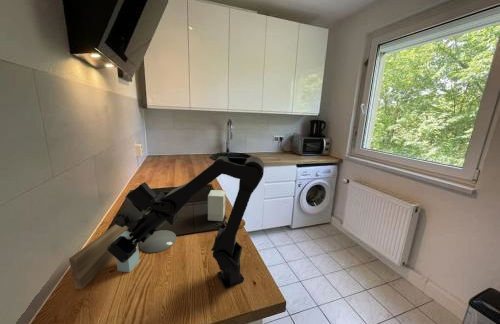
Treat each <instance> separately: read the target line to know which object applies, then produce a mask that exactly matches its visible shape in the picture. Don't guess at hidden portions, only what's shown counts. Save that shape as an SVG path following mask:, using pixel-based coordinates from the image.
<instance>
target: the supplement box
mask: <svg viewBox="0 0 500 324" xmlns="http://www.w3.org/2000/svg"><path fill="white" fill-rule="evenodd" d="M225 214H226V190H220V189H219V190H218V189H217V190H215V189H211V190H210V191H209V193H208V195H207V220H208V221H212V222H213V221H215V222H223V221H224V217H225Z"/></svg>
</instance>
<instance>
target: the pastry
mask: <svg viewBox="0 0 500 324" xmlns="http://www.w3.org/2000/svg"><path fill="white" fill-rule="evenodd" d="M228 219H229V217H227V218H226V219H224V222H223V224H224V226H226V225H227V222H228ZM243 226H244V227H245V226H246V220H245V219H243V218H242V220H241V223H240V226H239V229H242V228H244V227H243Z"/></svg>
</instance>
